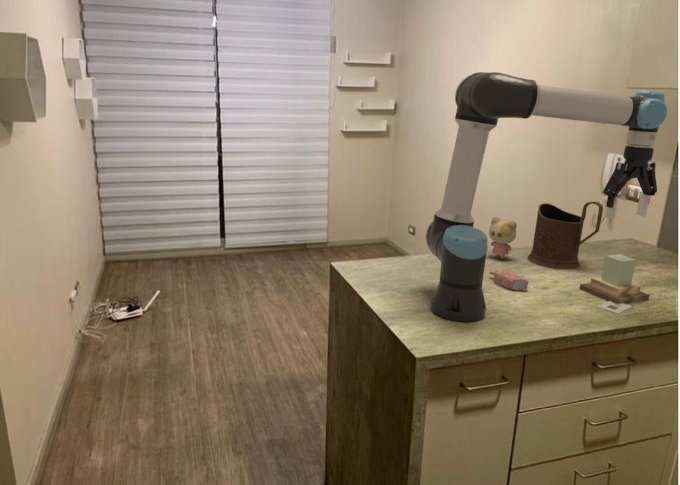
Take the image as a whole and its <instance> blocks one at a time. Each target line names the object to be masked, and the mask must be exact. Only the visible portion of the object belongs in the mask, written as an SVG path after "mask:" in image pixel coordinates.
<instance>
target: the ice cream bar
mask: <svg viewBox="0 0 680 485" xmlns="http://www.w3.org/2000/svg"><path fill="white" fill-rule="evenodd" d="M489 274H490V275H493V277H494V278H493V280H494V282H495V283H496V284H498V285H499V286H503V287H504V288H506V289H509V290H512V291H517V292H518V291H521V292H526V291H527V290H528V288H529V287H528V286H529V283H530V282H529V281H528V279H527V278H525V277H524V276H520V275H519V274H517V273H514V272H513V271H509V270H508V271H507V270H505V269H499V270H495V271H489Z"/></svg>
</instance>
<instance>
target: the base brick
mask: <svg viewBox="0 0 680 485" xmlns="http://www.w3.org/2000/svg"><path fill="white" fill-rule="evenodd" d="M601 279H602V276H598V277H591V279H590V282H587V283H581V284H579V289H580V290H582V291H584V292H586V293H588V294H591V295H593V296H595V297H597V298H600V299H602V300H604V301H606V302H608V301H611V302H613V303H615V304H621V303H624V304H631V303H636V302H640V301H641V302H642V301H647V300H650V294H649V293H646V292H643V291H641V289H642V288H641V287H642V285H640V284H638V283H636V282H633V281H632V283H631V284H630V285H623V286H615V285H613V284H610V283H608V282H605V281H603V280H601Z"/></svg>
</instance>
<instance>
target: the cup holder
mask: <svg viewBox="0 0 680 485" xmlns="http://www.w3.org/2000/svg"><path fill="white" fill-rule="evenodd" d="M591 204H592V205H596V206H597V207H598V214H597V219H596V225H595V229H594V231H593V232H592V233H590V234H589V235H587V236H586V237H585V238H583V239H582V240H581V238H582V234H583V228H584V223H585V219H586V214H587V208H588V206H589V205H591ZM603 211H604V206H603V204H601V202H598V201H588V202H586V203H585V204H584V205H583V207H582V211H581V212H582V213H581V216H580V215H577V214H574V213H571V212H567V211H565V210H563V209H561V208H560V207H557V206H555V205H554V204H551V203H547V202H546V203H540V204H539V206H538V209H537V215H536V222H535V229H534V235H533V236H534V237H533V244H532V249H531V251H530V254H529V255H528V256H527V257H526V258H527V260H528V261H529V262H530V263H531V264H534V265H536V266H540V267H543V268H548V269H553V270H562V271H568V270H576V269H578V268H580V267H581V264H580V262H579V252H580V245H582V244H584V243H585V242H586V241H588V240H589V239H590V238H592V237H593V236H595V235H596V234H597V233H599V231H600V228H601V221H602V216H603V213H604V212H603Z"/></svg>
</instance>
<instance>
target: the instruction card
mask: <svg viewBox="0 0 680 485" xmlns="http://www.w3.org/2000/svg"><path fill="white" fill-rule="evenodd" d="M597 308H598V309H602V310H604V311H607V312H611V313H614V314H616V315H619V314H621V313H623V312H625V311H628V310H629V309H631V308H633V305H629V304H628V303H626V304H624V303H621V304H615V303H613V302H611V301H606V302H604V303H601V304H600V305H598V306H597Z"/></svg>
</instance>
